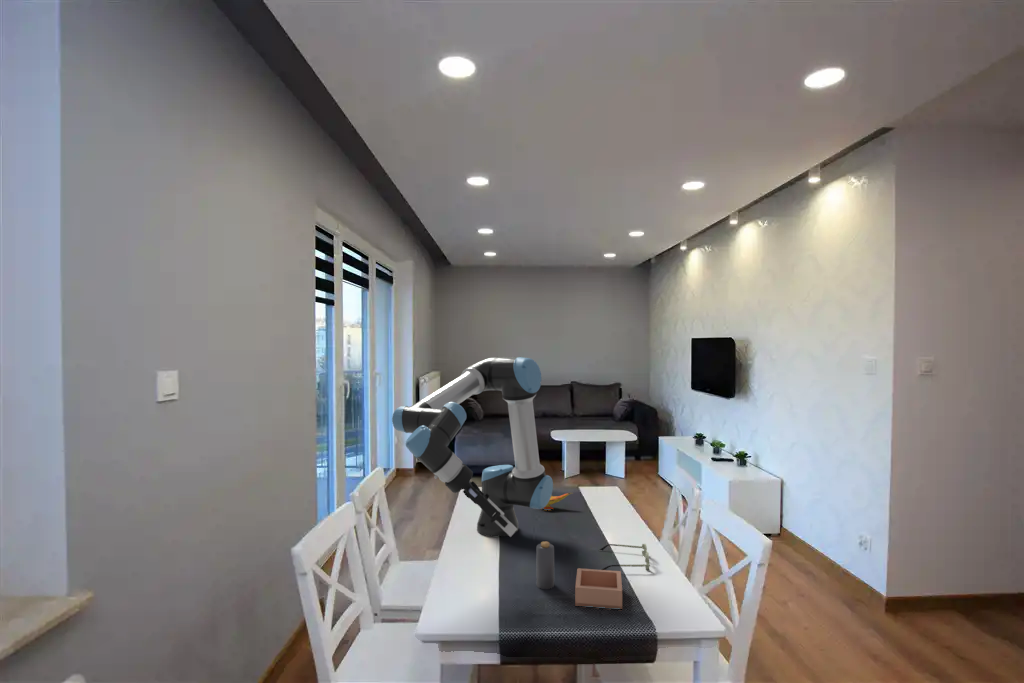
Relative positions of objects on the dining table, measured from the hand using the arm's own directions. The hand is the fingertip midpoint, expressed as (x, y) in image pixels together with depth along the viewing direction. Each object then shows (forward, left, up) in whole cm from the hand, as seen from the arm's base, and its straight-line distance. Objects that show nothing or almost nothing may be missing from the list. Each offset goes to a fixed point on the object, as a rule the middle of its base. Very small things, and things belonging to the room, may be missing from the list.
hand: (507, 524), depth 150 cm
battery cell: (+10, +5, -18) cm, 21 cm away
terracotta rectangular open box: (+25, 0, -18) cm, 31 cm away
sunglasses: (+32, +25, -19) cm, 45 cm away
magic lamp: (+5, +75, -19) cm, 77 cm away
